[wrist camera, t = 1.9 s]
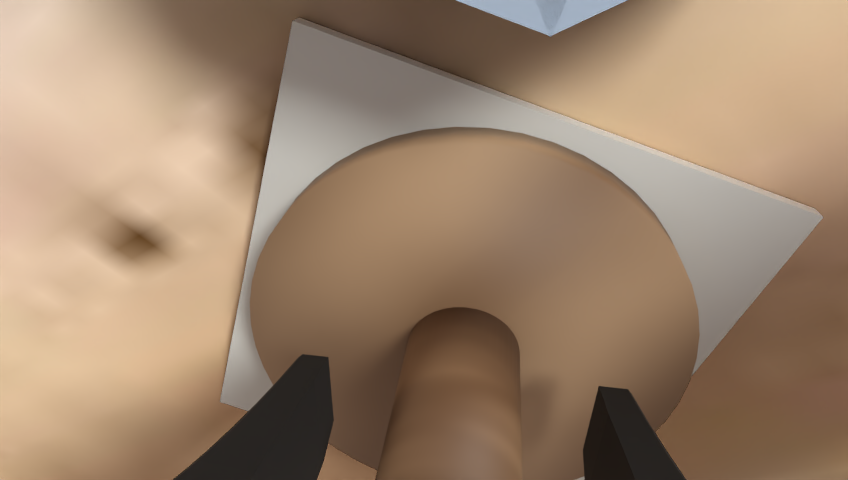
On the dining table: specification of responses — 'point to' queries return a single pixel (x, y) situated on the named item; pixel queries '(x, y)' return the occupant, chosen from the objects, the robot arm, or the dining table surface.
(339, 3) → the dining table surface
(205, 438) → the dining table surface
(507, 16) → the bowl
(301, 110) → the mat
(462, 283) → the lid
